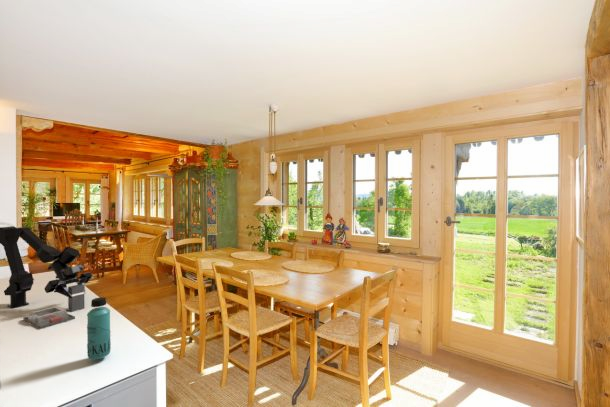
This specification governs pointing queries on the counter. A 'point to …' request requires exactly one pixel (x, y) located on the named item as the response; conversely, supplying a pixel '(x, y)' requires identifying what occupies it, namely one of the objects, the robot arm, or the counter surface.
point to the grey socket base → (48, 317)
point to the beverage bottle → (98, 330)
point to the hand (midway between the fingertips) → (78, 295)
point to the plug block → (76, 297)
